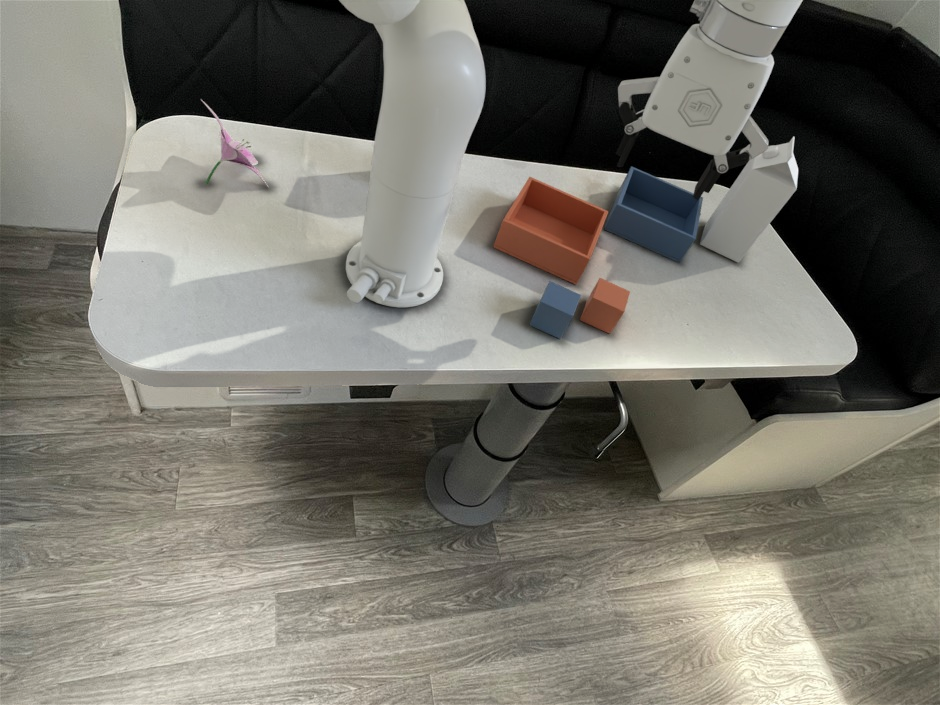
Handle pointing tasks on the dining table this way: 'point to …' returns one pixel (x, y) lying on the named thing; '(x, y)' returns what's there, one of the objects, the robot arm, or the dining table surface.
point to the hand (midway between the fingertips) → (658, 177)
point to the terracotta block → (605, 305)
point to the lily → (233, 151)
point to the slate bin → (655, 214)
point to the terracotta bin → (551, 230)
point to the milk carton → (752, 202)
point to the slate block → (555, 310)
